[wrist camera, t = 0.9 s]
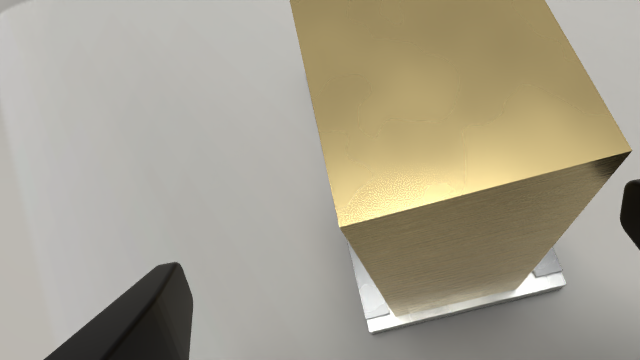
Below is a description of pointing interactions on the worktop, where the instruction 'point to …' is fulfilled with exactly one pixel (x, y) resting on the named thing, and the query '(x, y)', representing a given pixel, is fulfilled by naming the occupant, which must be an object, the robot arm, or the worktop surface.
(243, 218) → the worktop surface
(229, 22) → the worktop surface
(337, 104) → the brass block
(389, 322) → the silver flat plate
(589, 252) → the worktop surface
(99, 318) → the robot arm
